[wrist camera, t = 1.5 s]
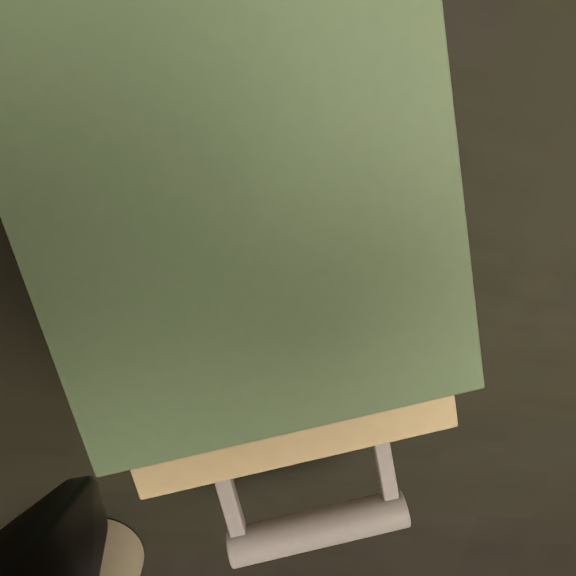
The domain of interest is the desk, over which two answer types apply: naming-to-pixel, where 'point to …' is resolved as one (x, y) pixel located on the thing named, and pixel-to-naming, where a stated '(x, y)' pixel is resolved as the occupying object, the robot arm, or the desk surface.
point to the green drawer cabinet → (236, 214)
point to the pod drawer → (297, 449)
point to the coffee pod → (121, 552)
